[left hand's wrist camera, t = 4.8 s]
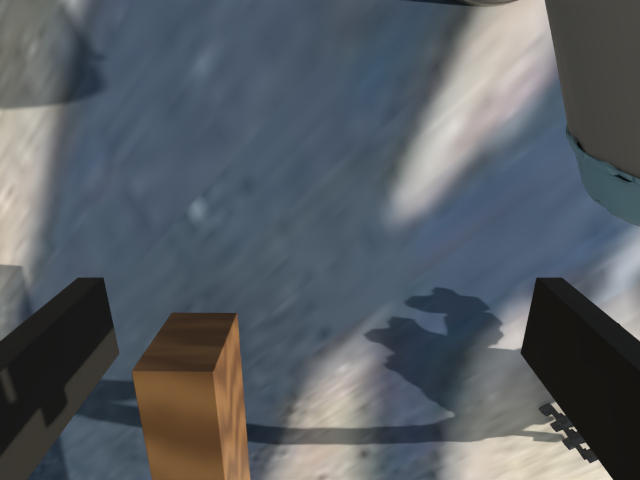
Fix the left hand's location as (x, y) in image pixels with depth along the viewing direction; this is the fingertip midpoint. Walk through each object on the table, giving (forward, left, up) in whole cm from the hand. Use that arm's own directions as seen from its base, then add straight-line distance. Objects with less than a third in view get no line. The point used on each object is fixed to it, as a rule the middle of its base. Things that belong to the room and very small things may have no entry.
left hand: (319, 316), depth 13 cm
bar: (+28, +14, -20) cm, 37 cm away
